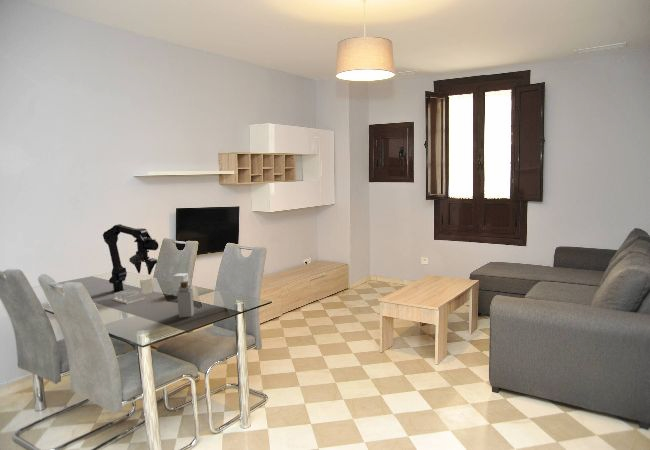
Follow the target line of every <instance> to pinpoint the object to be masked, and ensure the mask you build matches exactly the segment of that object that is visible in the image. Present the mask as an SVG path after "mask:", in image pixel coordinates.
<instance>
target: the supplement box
mask: <svg viewBox="0 0 650 450" xmlns="http://www.w3.org/2000/svg"><path fill="white" fill-rule="evenodd" d="M189 277H190V276H189V273H187V272H186V273H180V272H179V273H176V274H174V275H172V289H173V290H172V291H173V296H174V297H177V292H178V291H179V289H178V288H179V287H180V286H181V284H180V283H181V282H188V285H190V281H189V280H190V279H189Z"/></svg>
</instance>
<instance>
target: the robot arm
mask: <svg viewBox="0 0 650 450" xmlns="http://www.w3.org/2000/svg"><path fill="white" fill-rule="evenodd" d="M121 233H122V234H127V235H130V236H132V237H133V238H134V239H135V240H134V241H133V242H134V243H136V248H137V251H136V252H135V254H134V255H132V256H130V257H129V259H128V260H129V263H131V265H134V266H135V268H136V271H137V274H141V268H142V263H145V267H146V269H147V274H148V276H150V275H151V274H152V272H153V268H154V267H155V266H156V265H157V264H158V259H157V258H150V256H149V254H148V253H149V252H150V251H157V250H158V249H159V243H158V242H157V240H156V238H152V235H150V233H149V232H148V229H146V228H134V227H130V226H126V225H123V224H121V223H120V224H119V223H118V224H115V225H113V226H112V227H111V228H109V229H108V230H106V231H104V232H103V234H102V237H103V241H104V243H106V244H107V246H108V250H109V254H110V260H111V264H112V270H111V277H110V278H109V280H108V282H109V284H112V287H113V289H112V290H111V292H112V293H116V292H120V291H124V290H125V289H124V285H123V282H124V281H126V278H127V277H128V276H127V274H128V272H127V268H126V267H124V266H123V265H122V263H121V262H122V261H121V257H120V253H119V248H118V245H117V242H118V240H119V235H120V234H121Z"/></svg>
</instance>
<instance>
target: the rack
mask: <svg viewBox="0 0 650 450" xmlns="http://www.w3.org/2000/svg"><path fill="white" fill-rule="evenodd" d="M145 299H146V296H145V294H144V292H143V293H141V290H139V291H136V290H135V289H133V290H132V289H131V288H129V289H124V291H120V292H116V293H115V292H113V298H112V300H113V301H116V302H120V303H122V304H126V305H128V304H131V303H135V302H139V301H142V300H145Z"/></svg>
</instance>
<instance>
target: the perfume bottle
mask: <svg viewBox="0 0 650 450" xmlns="http://www.w3.org/2000/svg"><path fill="white" fill-rule="evenodd" d="M180 284H181V286H180V287H179V288H178V289H179V291H178V292H177V296H176V299H177V310H178V311H177V312H178V318H190V317H193V316H194V313H195V307H194V305H195V304H194V294H193V288H191V284H189V285H188V282H181V283H180Z"/></svg>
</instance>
